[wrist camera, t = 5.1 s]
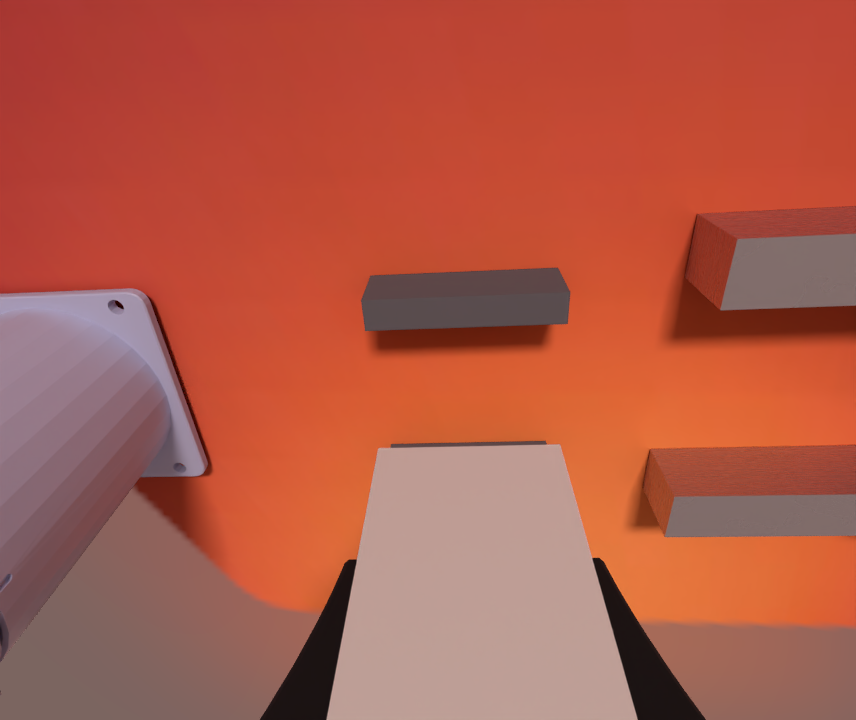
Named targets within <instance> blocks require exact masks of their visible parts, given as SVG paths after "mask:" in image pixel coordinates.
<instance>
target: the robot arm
mask: <svg viewBox="0 0 856 720" xmlns="http://www.w3.org/2000/svg"><path fill="white" fill-rule="evenodd" d="M115 300H117V301H119V302H120V303H121V304H122V305H123V307H124V309H121V308H119V307H118V306H117V305H116V303H115ZM179 463H181V464H183V465H184V466H182V465H181V464H179ZM207 466H208V462H207V459H206V456H205V453H204V450H203V448H202V445H201V442H200V439H199V436H198V434H197V431H196V428H195V425H194V422H193V420H192V417H191V414H190V411H189V408H188V406H187V403H186V400H185V397H184V395H183V392H182V389H181V386H180V383H179V381H178V378H177V375H176V372H175V369H174V367H173V364H172V361H171V358H170V355H169V353H168V350H167V347H166V344H165V341H164V339H163V336H162V333H161V330H160V327H159V325H158V322H157V319H156V316H155V314H154V311H153V308H152V305H151V302H150V300H149V299H148V297H147V296H146V295H145V294H144V293H143V292H141V291H139V290H137V289H107V290H83V291H59V292H35V293H12V294H0V662H1V661H2V660H3V659H4V657H5V656H6V654H7V653H8V652H9V651H10V649H11V648H12V647H13V645H14V644H15V643H16V641H17V640H18V639H19V637H20V636H21V635H22V633H23V632H24V631H25V629H26V628H27V627H28V625H29V624H30V623H31V621H32V620H33V619H34V617H35V616H36V615H37V613H38V612H39V611H40V609H41V608H42V607H43V605H44V604H45V603H46V601H47V600H48V599H49V598H50V596H51V595H52V594H53V592H54V591H55V590H56V588H57V587H58V585H59V584H60V583H61V582H62V580H63V579H64V578H65V576H66V575H67V573H68V572H69V571H70V570H71V568H72V567H73V566H74V564H75V563H76V561H77V560H78V559H79V558H80V556H81V555H82V554H83V552H84V551H85V550H86V548H87V547H88V546H89V544H90V543H91V541H92V540H93V539H94V538H95V536H96V535H97V534H98V532H99V531H100V530H101V528H102V527H103V526H104V524H105V523H106V522H107V521H108V519H109V518H110V516H111V515H112V514H113V513H114V511H115V510H116V509H117V507H118V506H119V505H120V503H121V502H122V501H123V499H124V498H125V497H126V495H127V494H128V493H129V491H130V490H131V489H132V487H133V486H134V485H135V483H136V482H137V481H138V479H139V478H140V477H179V476H200V475H202V474H203V473H204V471H205V470H206V468H207ZM592 560H593V563H594V567H595V570H596V574H597V577H598V581H599V584H600V588H601V591H602V595H603V599H604V602H605V606H606V609H607V613H608V616H609V620H610V623H611V627H612V630H613V634H614V638H615V641H616V645H617V648H618V652H619V655H620V659H621V662H622V666H623V669H624V673H625V676H626V680H627V684H628V687H629V691H630V694H631V698H632V701H633V705H634V708H635V712H636V715H637V719H638V720H706V719H705V718H704V716H703V715H702V714H701V712H700V711H699V710H698V708H697V707H696V706H695V704H694V703H693V702H692V700H691V699H690V698H689V696H688V695H687V693H686V692H685V691H684V689H683V688H682V686H681V685H680V684H679V682H678V681H677V679H676V678H675V677H674V675H673V674H672V672H671V671H670V669H669V668H668V666H667V665H666V663H665V662H664V660H663V659H662V657H661V656H660V654H659V653H658V651H657V650H656V648H655V647H654V645H653V644H652V642H651V641H650V639H649V638H648V637H647V635H646V633H645V632H644V630H643V629H642V627H641V625H640V624H639V622H638V621H637V619H636V617H635V616H634V614H633V612H632V611H631V609H630V608H629V606H628V604H627V603H626V601H625V599H624V597H623V596H622V594H621V592H620V591H619V589H618V587H617V585H616V584H615V582H614V580H613V578H612V576H611V575H610V573H609V571H608V569H607V567H606V565H605V563H604V562H603V561H602V560H601V559H600V558H592ZM356 563H357V560H348V561H347V562H346V563H345V564H344V566H343V569H342V571H341V573H340V576H339V578H338V580H337V582H336V585H335V587H334V589H333V591H332V593H331V595H330V597H329V599H328V602H327V604H326V606H325V608H324V610H323V612H322V613H321V615H320V617H319V620H318V621H317V623H316V625H315V627H314V629H313V631H312V633H311V634H310V636H309V638H308V640H307V642H306V644H305V645H304V647H303V649H302V651H301V653H300V654H299V656H298V658H297V660H296V662H295V663H294V665H293V667H292V668H291V670H290V672H289V673H288V675H287V677H286V678H285V680H284V682H283V684H282V685H281V687H280V688H279V690H278V691H277V693H276V695H275V696H274V698H273V700H272V701H271V703H270V705H269V706H268V708H267V710H266V711H265V713H264V714H263V716H262V717H261V719H260V720H327V715H328V709H329V704H330V699H331V694H332V688H333V683H334V678H335V673H336V667H337V662H338V657H339V652H340V646H341V641H342V636H343V631H344V625H345V620H346V615H347V610H348V604H349V599H350V594H351V589H352V584H353V578H354V573H355V568H356ZM0 695H1V691H0Z"/></svg>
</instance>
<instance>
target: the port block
mask: <svg viewBox="0 0 856 720" xmlns="http://www.w3.org/2000/svg"><path fill="white" fill-rule="evenodd" d="M685 278H686V279H687V280H688V281H689V282H690V283H691V284H692V285H693V286H695V287H696V288H697V289H698V290H699V291H700V292H701V293H702V294H703V295H704V296H705V297H706V298H707V299H708V300H710V301H711V302H712V303H713V304H714V305H715V306H716V307H717V308H718V309H719V310H745V309H773V308H800V307H828V306H856V206H851V207H831V208H810V209H789V210H769V211H748V212H727V213H707V214H697V219H696V224H695V229H694V234H693V239H692V244H691V249H690V254H689V259H688V264H687V269H686V274H685ZM643 489H644V492H645V494H646V496H647V498H648V501H649V503H650V505H651V507H652V510H653V512H654V514H655V516H656V519H657V521H658V523H659V525H660V528H661V530H662V532H663V534H664V537H741V536H856V445H847V446H794V447H741V448H687V449H650V454H649V459H648V464H647V469H646V474H645V479H644V484H643Z"/></svg>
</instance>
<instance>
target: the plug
mask: <svg viewBox="0 0 856 720" xmlns="http://www.w3.org/2000/svg"><path fill="white" fill-rule="evenodd" d="M327 720H638V719H637V715H636V712H635V708H634V705H633V701H632V698H631V694H630V691H629V687H628V684H627V680H626V676H625V673H624V669H623V666H622V662H621V659H620V655H619V652H618V648H617V645H616V641H615V638H614V634H613V630H612V627H611V623H610V620H609V616H608V613H607V609H606V606H605V602H604V599H603V595H602V591H601V588H600V584H599V581H598V577H597V574H596V570H595V567H594V563H593V560H592V556H591V552H590V549H589V545H588V542H587V538H586V535H585V531H584V528H583V524H582V521H581V517H580V513H579V510H578V506H577V503H576V499H575V496H574V492H573V489H572V485H571V482H570V478H569V474H568V471H567V467H566V464H565V460H564V457H563V453H562V450H561V446H560V444H556V445H508V446H460V447H412V448H378V452H377V458H376V463H375V468H374V473H373V479H372V484H371V489H370V494H369V500H368V505H367V510H366V515H365V521H364V526H363V531H362V536H361V542H360V547H359V552H358V557H357V563H356V568H355V573H354V578H353V584H352V589H351V594H350V599H349V604H348V610H347V615H346V620H345V625H344V631H343V636H342V641H341V646H340V652H339V657H338V662H337V667H336V673H335V678H334V683H333V688H332V694H331V699H330V704H329V709H328V715H327Z"/></svg>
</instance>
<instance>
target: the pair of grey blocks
mask: <svg viewBox="0 0 856 720" xmlns="http://www.w3.org/2000/svg"><path fill="white" fill-rule="evenodd" d="M569 301H570V291H569V289H568V287H567V285H566V283H565V281H564V279H563V277H562V275H561V273H560V271H559V269H558V268H541V269H517V270H494V271H470V272H446V273H423V274H399V275H375V276H370V279H369V282H368V284H367V287H366V289H365V292H364V295H363V297H362V300H361V302H362V310H363V317H364V324H365V331H379V330H408V329H436V328H465V327H493V326H522V325H550V324H568V313H569ZM508 445H547V443H546V441H525V442H475V443H425V444H391V448H412V447H460V446H508Z"/></svg>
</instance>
